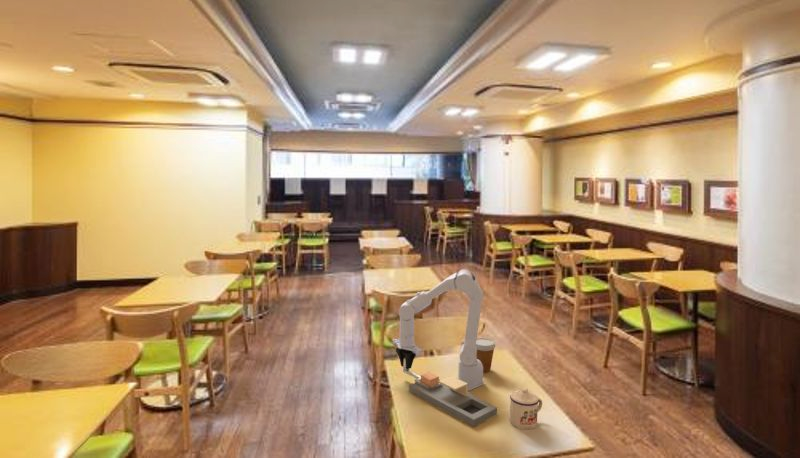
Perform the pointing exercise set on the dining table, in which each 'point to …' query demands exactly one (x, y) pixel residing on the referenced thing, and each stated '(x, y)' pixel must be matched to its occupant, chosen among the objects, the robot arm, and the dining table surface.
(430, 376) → the terracotta block
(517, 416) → the teacup with lid
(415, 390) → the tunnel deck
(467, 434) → the dining table surface
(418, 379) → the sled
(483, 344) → the disposable coffee cup
